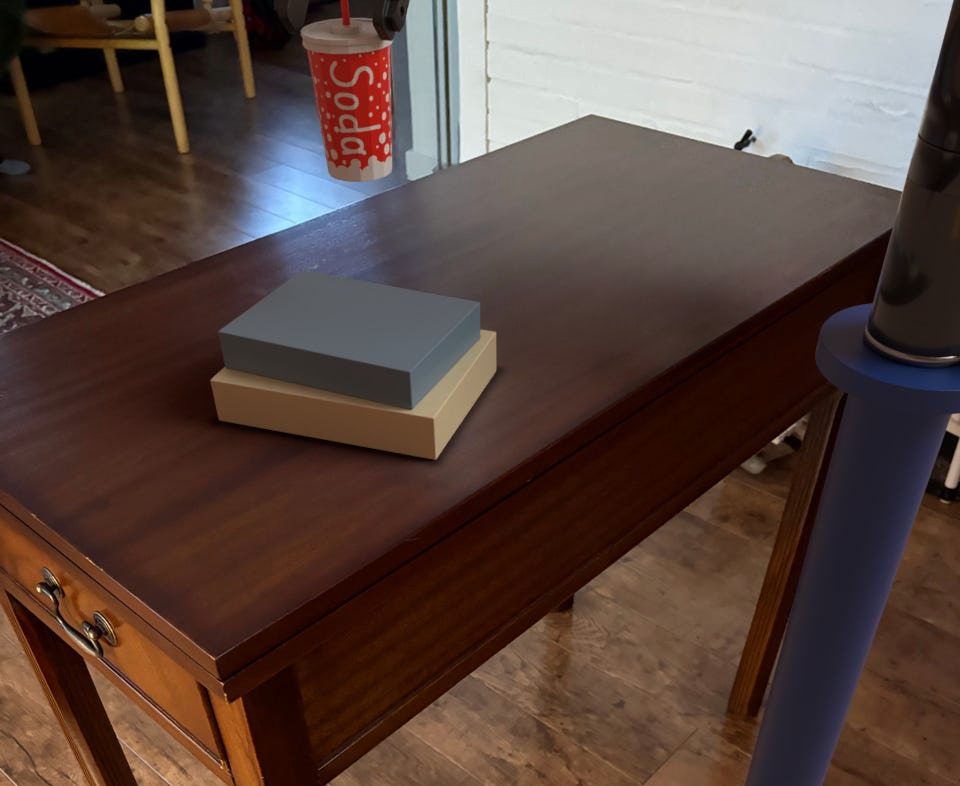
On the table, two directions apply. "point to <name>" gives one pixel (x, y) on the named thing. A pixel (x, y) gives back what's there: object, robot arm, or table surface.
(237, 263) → the table surface
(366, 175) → the beverage cup
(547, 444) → the table surface
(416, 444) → the book stack
